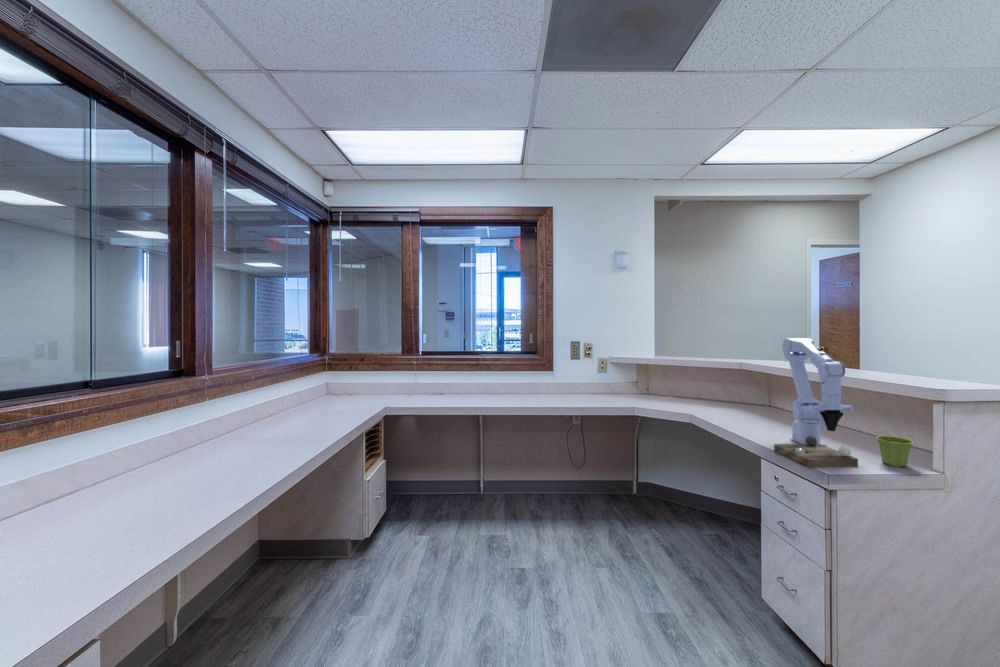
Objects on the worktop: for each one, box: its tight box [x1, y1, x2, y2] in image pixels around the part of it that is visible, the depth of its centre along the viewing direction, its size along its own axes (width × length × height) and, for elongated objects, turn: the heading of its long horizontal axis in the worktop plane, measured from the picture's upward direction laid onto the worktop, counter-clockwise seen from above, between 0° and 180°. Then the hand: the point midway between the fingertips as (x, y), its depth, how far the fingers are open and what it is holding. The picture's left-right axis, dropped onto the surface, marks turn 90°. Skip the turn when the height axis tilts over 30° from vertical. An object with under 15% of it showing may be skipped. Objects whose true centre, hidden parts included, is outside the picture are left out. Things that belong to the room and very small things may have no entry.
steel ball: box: [794, 448, 806, 453], centre depth 152 cm, size 4×4×4 cm
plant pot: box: [875, 435, 914, 467], centre depth 143 cm, size 9×9×9 cm
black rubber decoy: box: [806, 436, 817, 446], centre depth 158 cm, size 4×4×4 cm
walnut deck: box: [773, 443, 859, 468], centre depth 151 cm, size 18×17×2 cm
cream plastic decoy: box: [837, 446, 852, 457], centre depth 145 cm, size 4×4×4 cm
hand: (831, 430), depth 153 cm, fingers closed
